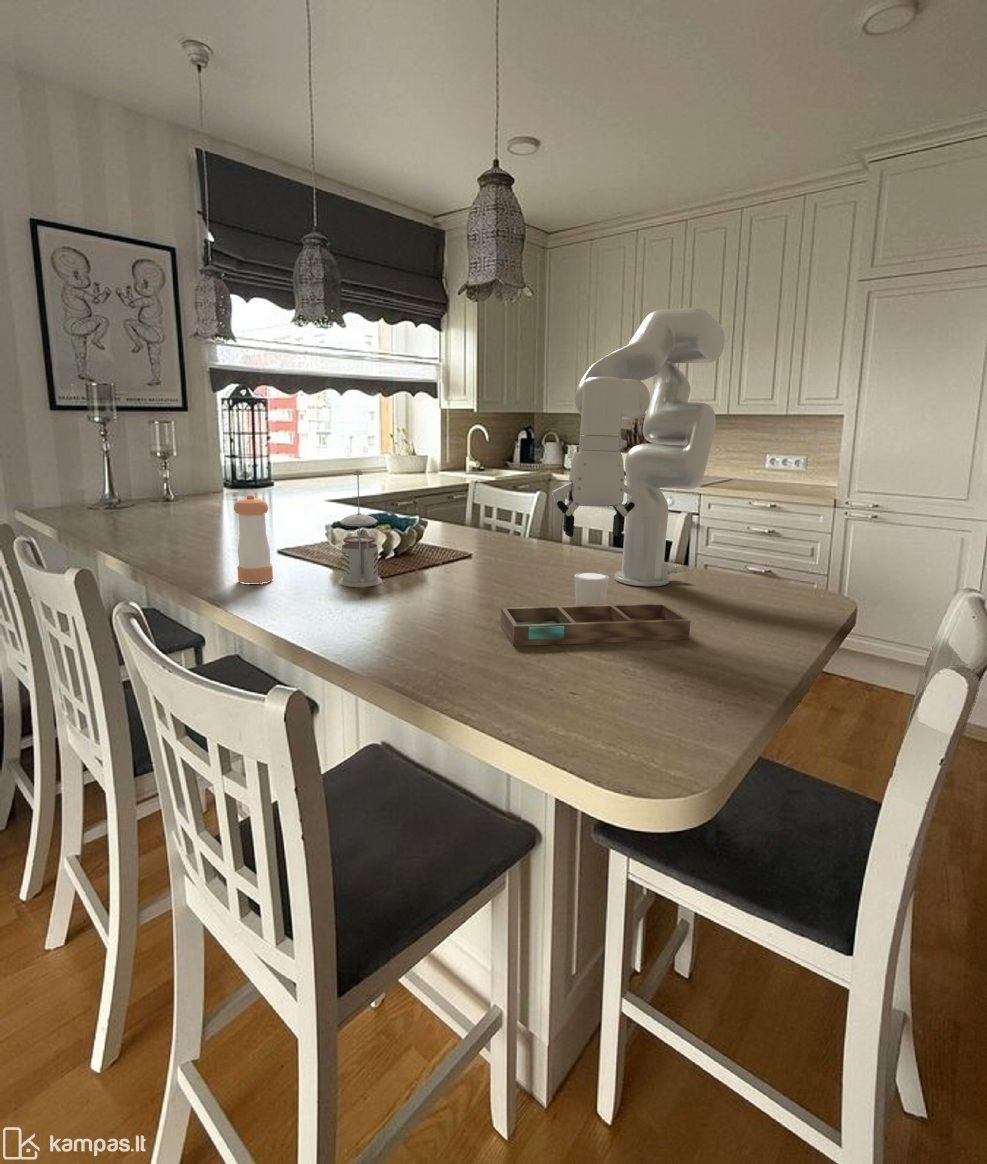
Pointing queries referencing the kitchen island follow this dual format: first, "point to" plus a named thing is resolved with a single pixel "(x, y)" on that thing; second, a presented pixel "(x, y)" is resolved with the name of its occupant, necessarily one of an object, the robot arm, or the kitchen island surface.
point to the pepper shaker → (253, 541)
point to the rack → (593, 624)
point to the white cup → (590, 588)
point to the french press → (359, 552)
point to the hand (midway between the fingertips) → (593, 535)
